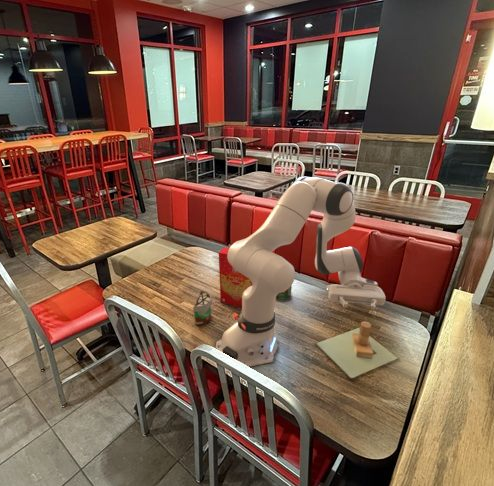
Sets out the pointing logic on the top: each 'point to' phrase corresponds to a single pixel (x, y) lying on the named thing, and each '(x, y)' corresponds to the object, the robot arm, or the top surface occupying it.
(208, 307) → the food container
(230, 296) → the food packaging
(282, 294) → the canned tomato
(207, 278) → the top surface
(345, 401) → the top surface
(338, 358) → the mat
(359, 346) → the wooden block stack
